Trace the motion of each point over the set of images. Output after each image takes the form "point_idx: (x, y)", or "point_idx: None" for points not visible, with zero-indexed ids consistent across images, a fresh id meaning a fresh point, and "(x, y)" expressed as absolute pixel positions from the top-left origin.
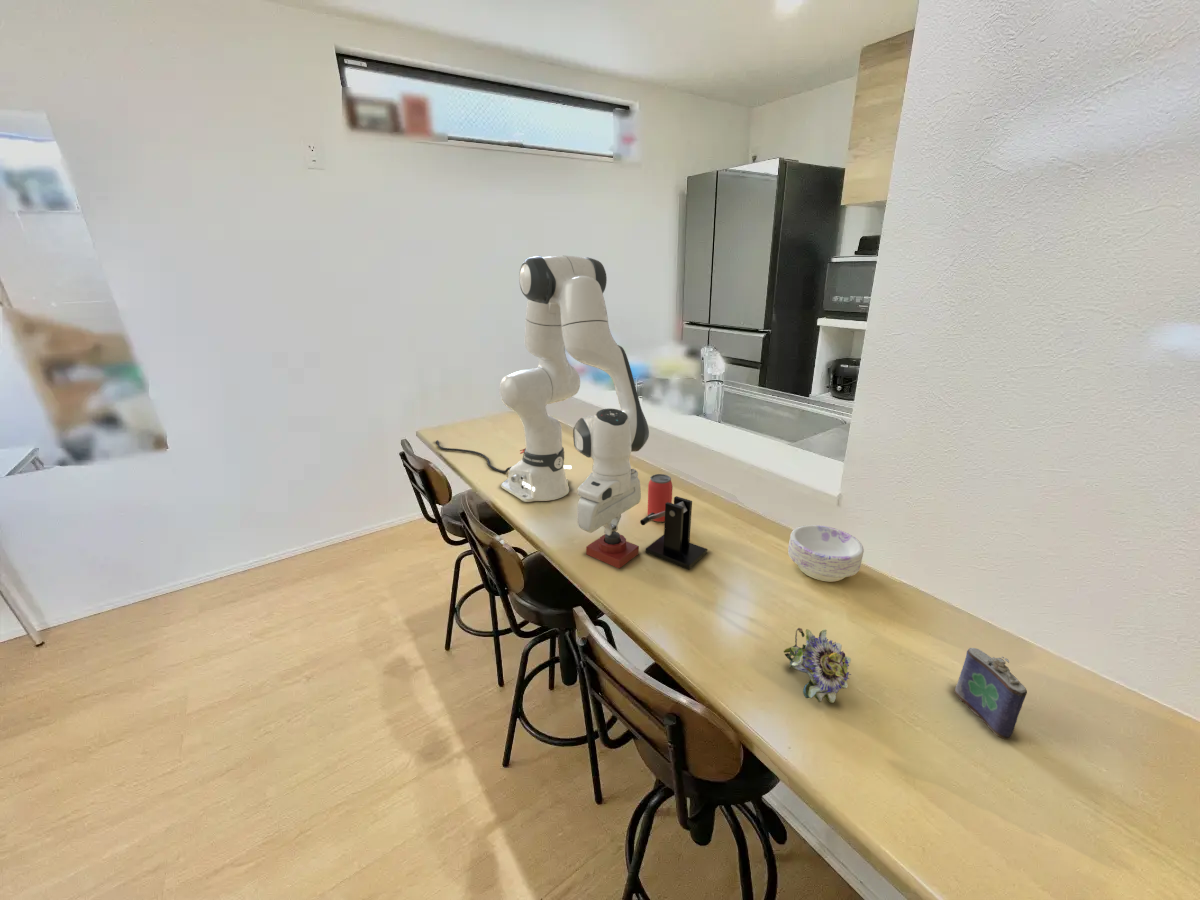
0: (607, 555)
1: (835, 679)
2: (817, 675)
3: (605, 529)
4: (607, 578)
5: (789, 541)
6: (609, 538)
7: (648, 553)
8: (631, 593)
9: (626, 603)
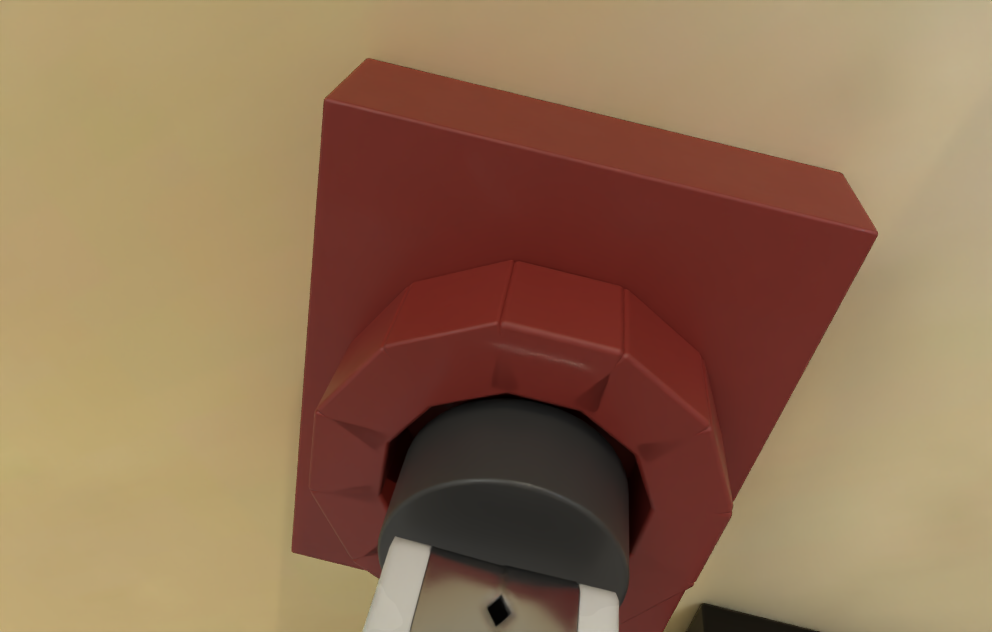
0: (300, 435)
1: None
2: None
3: (367, 621)
4: (135, 433)
5: None
6: (379, 561)
7: (691, 624)
8: (114, 607)
9: (7, 602)
